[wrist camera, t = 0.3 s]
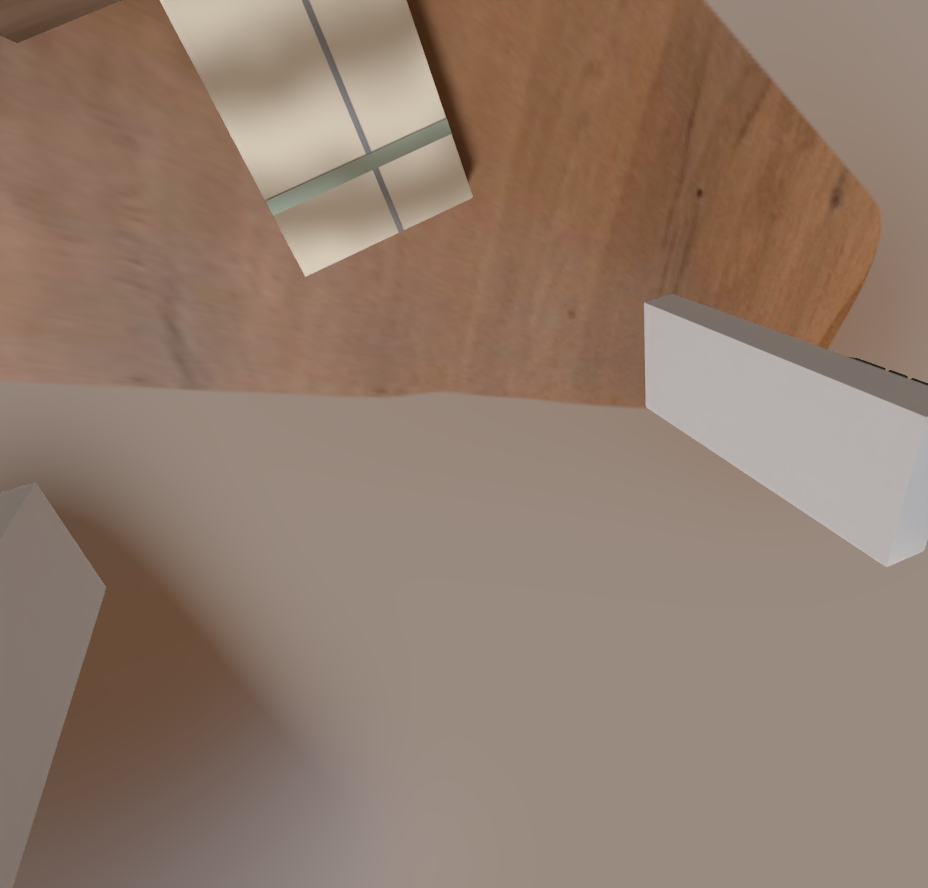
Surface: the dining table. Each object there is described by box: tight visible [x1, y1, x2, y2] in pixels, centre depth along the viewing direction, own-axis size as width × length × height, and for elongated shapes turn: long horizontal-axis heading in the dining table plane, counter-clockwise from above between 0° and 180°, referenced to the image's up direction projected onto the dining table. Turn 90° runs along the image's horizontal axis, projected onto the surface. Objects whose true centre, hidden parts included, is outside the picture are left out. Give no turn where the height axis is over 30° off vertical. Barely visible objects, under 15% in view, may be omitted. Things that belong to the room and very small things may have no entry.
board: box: [160, 0, 473, 277], centre depth 30 cm, size 20×11×2 cm, turn 21°
